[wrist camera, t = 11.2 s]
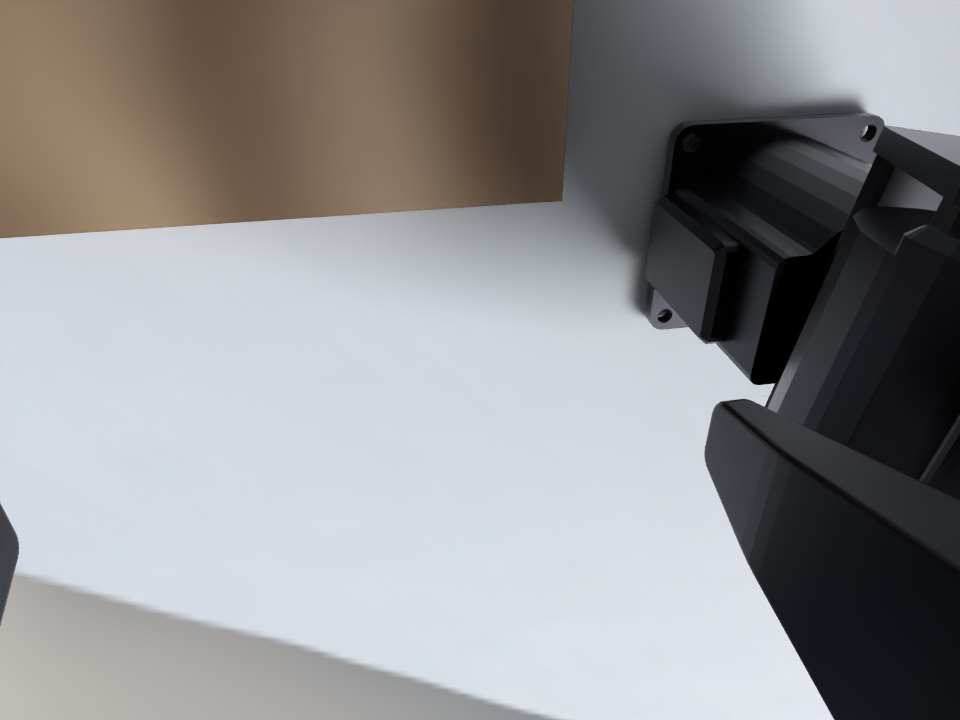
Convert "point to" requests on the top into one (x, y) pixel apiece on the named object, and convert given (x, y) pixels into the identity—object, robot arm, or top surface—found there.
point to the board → (275, 109)
